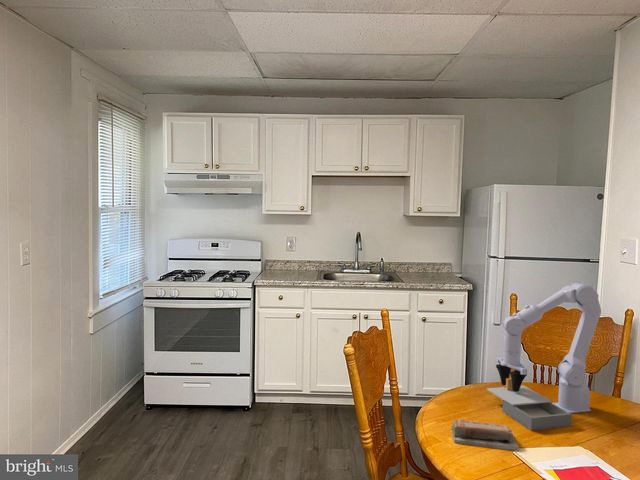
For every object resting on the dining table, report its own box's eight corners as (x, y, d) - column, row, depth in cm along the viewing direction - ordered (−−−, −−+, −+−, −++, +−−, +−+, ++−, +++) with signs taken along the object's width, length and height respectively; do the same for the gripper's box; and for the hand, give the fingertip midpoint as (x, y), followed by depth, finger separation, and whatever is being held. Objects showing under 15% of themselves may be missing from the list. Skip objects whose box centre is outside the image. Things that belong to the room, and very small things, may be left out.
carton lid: (523, 386, 173) (523, 374, 173) (551, 402, 159) (552, 389, 159) (486, 389, 169) (487, 377, 169) (512, 405, 155) (513, 392, 155)
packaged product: (453, 428, 137) (451, 414, 147) (453, 444, 138) (451, 429, 147) (519, 436, 134) (513, 421, 143) (518, 452, 134) (512, 436, 143)
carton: (539, 408, 164) (540, 396, 164) (571, 426, 151) (571, 414, 150) (502, 411, 161) (502, 400, 160) (531, 430, 147) (531, 418, 147)
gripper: (489, 345, 174) (488, 381, 174) (515, 357, 160) (513, 396, 160) (506, 344, 175) (504, 380, 176) (533, 356, 161) (531, 394, 162)
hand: (510, 387), depth 168 cm, fingers open, 6 cm apart
